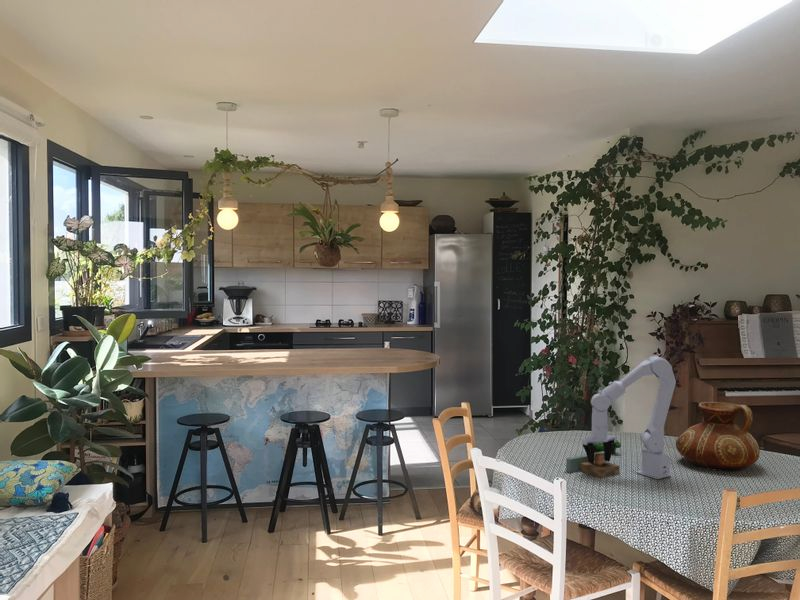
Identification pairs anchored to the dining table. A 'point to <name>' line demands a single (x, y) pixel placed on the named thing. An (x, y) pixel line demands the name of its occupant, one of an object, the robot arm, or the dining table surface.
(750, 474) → the dining table surface
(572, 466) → the wall
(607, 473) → the square frame
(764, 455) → the dining table surface
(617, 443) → the clamp
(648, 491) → the dining table surface
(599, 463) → the dowel
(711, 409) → the jug
